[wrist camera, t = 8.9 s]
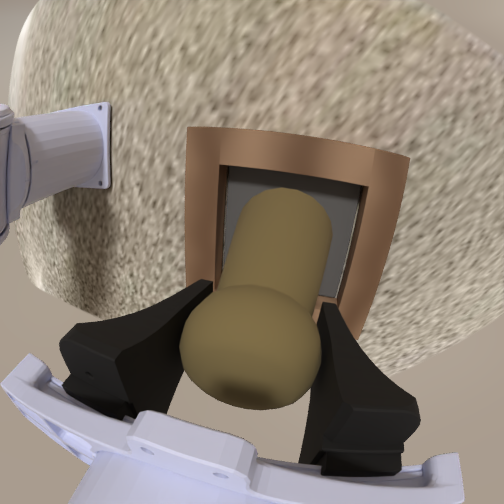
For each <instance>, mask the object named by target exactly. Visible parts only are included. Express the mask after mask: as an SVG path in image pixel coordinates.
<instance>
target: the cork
mask: <svg viewBox="0 0 504 504" xmlns="http://www.w3.org/2000/svg"><path fill="white" fill-rule="evenodd" d="M332 237H333V232H332V225H331V220H330V218H329V216H328V215H327V213H326V211H325V209H324V207H322V206H321V205H320V204H319V203H318V202H317V201H316V200H315V199H314V198H313V197H311V196H309V195H307V194H305V193H303V192H301V191H299V190H295V189H288V188H275V189H269V190H265V191H263V192H261V193H259V194H257V195H255V196H254V197H252V198H251V199H250V200H249V201H248V202H247V204H246V205H245V206H244V207H243V209H242V211H241V213H240V216H239V218H238V221H237V224H236V228H235V231H234V234H233V237H232V241H231V244H230V247H229V251H228V254H227V257H226V261H225V264H224V267H223V271H222V274H221V277H220V281H219V284H218V288H217V291H215V292H212V293H211V294H210V295H209V296H208V297H207V298H205V299H204V300H203V301H202V302H201V303H200V304H199V305H198V306H197V307H196V308H195V309H194V310H193V311H192V312H191V314H190V315H189V317H188V319H187V320H186V322H185V325H184V329H183V332H182V335H181V340H180V345H179V348H180V354H181V359H182V363H183V368H184V370H185V372H186V373H187V375H188V376H189V378H190V379H191V380H192V381H193V382H194V383H195V384H196V385H197V386H198V387H199V388H200V389H202V390H203V391H204V392H205V393H206V394H208V395H210V396H212V397H214V398H215V399H217V400H219V401H221V402H224V403H226V404H229V405H232V406H235V407H240V408H244V409H253V410H267V409H276V408H281V407H284V406H287V405H290V404H293V403H294V402H296V401H297V400H298V399H300V398H301V397H302V396H303V395H304V394H305V393H306V392H307V391H308V390H309V389H310V388H311V387H312V384H313V382H314V380H315V377H316V375H317V373H318V370H319V368H320V365H321V356H322V349H321V341H320V335H319V332H318V328H317V325H316V323H315V321H314V320H313V318H312V316H313V312H314V309H315V305H316V301H317V298H318V294H319V290H320V286H321V283H322V279H323V275H324V271H325V267H326V263H327V259H328V254H329V250H330V246H331V241H332Z"/></svg>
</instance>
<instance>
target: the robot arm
mask: <svg viewBox="0 0 504 504" xmlns="http://www.w3.org/2000/svg"><path fill="white" fill-rule="evenodd" d="M101 106H102V110H101ZM110 109H111V106H110V103H109V102H102V103H96V104H90V105H84V106H79V107H74V108H69V109H65V110H60V111H56V112H52V113H47V114H39V115H31V116H25V117H18V118H14V112H13V111H12V110H11V109H10V108H9V106H8V105H5V104H0V245H1V244H2V242H3V241H4V240H5V239H6V237H7V236H8V233H9V229H10V226H9V223H11V222H13V221H15V220H17V219H19V218H20V210H21V208H24V207H26V206H28V205H30V204H33V203H35V202H37V201H39V200H42V199H44V198H47V197H49V196H51V195H54V194H56V193H59V192H61V191H64V190H66V189H69V188H72V187H84V188H99V189H107V188H109V187H110V183H111V182H110ZM101 181H102V184H101ZM212 292H213V281H209V280H204V279H200V280H198V281H196V282H195V283H193V284H191V285H190V286H188V287H186V288H185V289H183V290H181V291H180V292H178V293H176V294H174V295H173V296H171V297H169V298H167V299H165V300H163V301H161V302H159V303H157V304H155V305H153V306H151V307H148V308H146V309H143V310H141V311H138V312H135V313H132V314H128V315H125V316H122V317H118V318H113V319H109V320H103V321H97V322H88V323H77V324H76V325H75V326H74V327H73V328H72V329H71V330H70V331H69V332H68V333H67V334H66V335H65V336H64V337H63V338H62V339H61V340H60V343H59V346H60V351H61V354H62V356H63V359H64V361H65V363H66V365H67V367H68V369H69V371H70V373H71V374H70V376H69V377H68V378H67V379H66V380H65V382H64V383H63V382H62V381H60V380H58V379H57V378H55V377H54V376H52V373H51V371H50V369H49V368H48V366H47V365H46V364H45V363H44V362H43V361H41V360H40V359H38V358H37V357H35V356H34V355H32V354H31V353H29V354H28V355H27V356H26V357H25V358H24V359H23V360H22V361H21V362H20V363H19V364H18V365H17V366H16V367H15V368H14V370H13V371H12V372H11V373H10V374H9V375H8V376H7V377H6V378H5V379H4V380H3V381H2V382H1V387H2V388H3V389H4V391H5V392H6V394H7V395H8V396H9V398H10V399H11V400H12V402H13V403H14V404H15V406H16V407H17V408H18V409H19V410H20V412H21V413H22V414H23V415H24V416H25V417H26V418H27V419H28V420H29V421H31V422H32V423H33V424H34V425H35V426H37V427H38V428H39V429H40V430H41V431H43V432H44V433H45V434H46V435H48V436H49V437H50V438H52V439H53V440H54V441H55V442H57V443H58V444H59V445H61V446H62V447H63V448H65V449H66V450H67V451H69V452H70V453H72V454H73V455H75V456H76V457H77V458H79V459H80V460H82V461H84V462H85V463H86V464H88V465H89V466H90V467H89V468H88V470H87V472H86V474H85V475H84V477H83V478H82V480H81V482H80V483H79V485H78V487H77V488H76V490H75V492H74V494H73V495H72V497H71V499H70V500H69V502H68V504H461V503H463V502H464V500H465V498H464V489H463V481H462V474H461V467H460V461H459V456H458V452H453V453H447V454H440V455H435V456H433V457H431V458H429V459H428V460H426V461H425V462H424V463H423V464H422V465H413V466H402V464H401V453H403V452H404V442H405V441H406V440H407V439H408V438H409V437H410V436H411V435H412V434H413V433H414V432H415V431H416V429H417V428H418V426H419V425H420V421H421V419H420V414H419V408H418V405H417V401H416V398H415V397H413V396H412V395H410V394H409V393H407V392H406V391H404V390H403V389H402V388H400V387H399V386H397V385H396V384H395V383H394V382H393V381H391V380H390V379H389V378H388V377H387V376H386V375H385V374H383V373H382V372H381V371H380V370H379V369H378V368H377V367H376V366H375V364H374V363H373V362H372V361H371V360H370V359H369V358H368V356H367V355H366V354H365V353H364V351H363V350H362V349H361V347H360V346H359V344H358V343H357V341H356V340H355V338H354V337H353V335H352V333H351V332H350V330H349V328H348V326H347V325H346V323H345V321H344V319H343V317H342V315H341V313H340V311H339V309H338V307H337V305H336V304H335V303H329V302H322V306H321V309H320V313H319V317H318V320H317V324H316V325H317V328H318V332H319V335H320V341H321V349H322V356H321V365H320V368H319V370H318V373H317V375H316V377H315V380H314V382H313V384H312V387H311V393H310V404H309V410H308V417H307V422H306V428H305V434H304V439H303V444H302V448H301V454H300V458H299V462H298V463H291V462H284V461H277V460H272V459H266V458H260V457H257V455H258V453H257V450H256V448H255V446H254V445H253V444H251V443H250V442H248V441H247V440H245V439H244V438H241V437H238V436H235V435H233V434H230V433H226V432H222V431H219V430H215V429H211V428H208V427H204V426H200V425H197V424H194V423H191V422H188V421H184V420H181V419H178V418H175V417H172V416H170V415H167V411H168V409H169V406H170V403H171V401H172V398H173V395H174V393H175V391H176V388H177V385H178V383H179V381H180V378H181V376H182V374H183V372H184V368H183V363H182V359H181V354H180V348H179V345H180V340H181V335H182V332H183V329H184V325H185V322H186V320H187V319H188V317H189V315H190V314H191V312H192V311H193V310H194V309H195V308H196V307H197V306H198V305H199V304H200V303H201V302H202V301H203V300H204V299H205V298H207V297H208V296H209V295H210V294H211V293H212Z"/></svg>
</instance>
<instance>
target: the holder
mask: <svg viewBox="0 0 504 504" xmlns="http://www.w3.org/2000/svg"><path fill="white" fill-rule="evenodd" d="M409 162H410V158H409V157H406V156H403V155H400V154H396V153H392V152H388V151H383V150H379V149H375V148H370V147H366V146H361V145H356V144H351V143H346V142H341V141H335V140H329V139H323V138H317V137H311V136H304V135H297V134H289V133H281V132H272V131H262V130H251V129H238V128H221V127H187V144H186V171H185V266H186V287H188V286H190V285H191V284H193V283H195V282H196V281H198V280H200V279H204V280H209V281H213V292H215V291H217V288H218V284H219V281H220V277H221V274H222V259H223V237H224V217H225V199H226V183H227V167H228V165H229V180H228V196H227V213H226V231H225V251H224V264H225V261H226V257H227V254H228V251H229V247H230V244H231V241H232V237H233V234H234V231H235V228H236V224H237V221H238V218H239V216H240V213H241V211H242V209H243V207H244V206H245V205H246V204H247V202H248V201H249V200H250V199H251V198H252V197H254V196H255V195H257V194H259V193H261V192H263V191H265V190H269V189H275V188H288V189H295V190H299V191H301V192H303V193H305V194H307V195H309V196H311V197H313V198H314V199H315V200H316V201H317V202H318V203H319V204H320V205H321V206H322V207H324V209H325V211H326V213H327V215H328V216H329V218H330V220H331V225H332V232H333V237H332V241H331V246H330V250H329V254H328V259H327V263H326V267H325V271H324V275H323V279H322V283H321V286H320V290H319V294H318V295H323V296H318V298H317V301H316V305H315V309H314V312H313V316H312V318H313V320H314V321H315V323H316V324H317V320H318V317H319V313H320V309H321V306H322V302H329V303H335V304H336V305H337V307H338V309H339V311H340V313H341V315H342V317H343V319H344V321H345V323H346V325H347V326H348V328H349V330H350V332H351V333H352V335H353V337H354V338H355V339H356V340H358V339H359V336H360V334H361V331H362V329H363V326H364V323H365V321H366V318H367V316H368V313H369V310H370V307H371V305H372V302H373V299H374V296H375V293H376V290H377V288H378V285H379V282H380V278H381V275H382V272H383V269H384V266H385V263H386V259H387V256H388V253H389V249H390V246H391V242H392V238H393V235H394V231H395V227H396V223H397V219H398V215H399V211H400V207H401V202H402V198H403V193H404V188H405V183H406V178H407V173H408V168H409ZM361 185H363V189H362V194H361V199H360V205H359V209H358V214H357V219H356V224H355V228H354V233H353V237H352V241H351V246H350V250H349V254H348V258H347V262H346V266H345V270H344V274H343V277H342V281H341V285H340V288H339V292H338V296H337V298H330V297H335V296H336V292H337V289H338V285H339V281H340V277H341V274H342V270H343V266H344V262H345V258H346V254H347V250H348V245H349V241H350V237H351V232H352V228H353V223H354V218H355V214H356V209H357V204H358V199H359V193H360V188H361ZM324 296H329V297H324Z"/></svg>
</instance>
